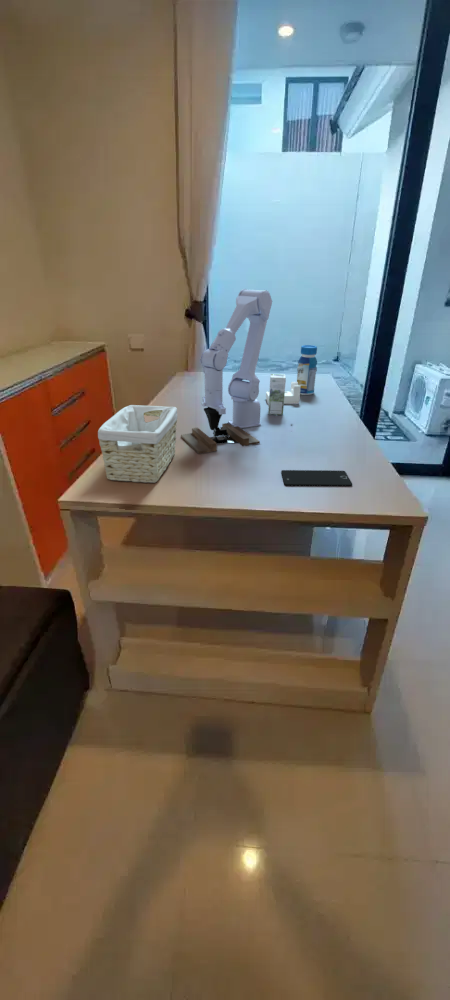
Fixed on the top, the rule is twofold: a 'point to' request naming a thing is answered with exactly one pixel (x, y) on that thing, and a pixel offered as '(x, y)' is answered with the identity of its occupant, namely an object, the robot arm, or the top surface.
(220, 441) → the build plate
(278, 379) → the syrup box
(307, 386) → the beverage bottle
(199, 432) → the wooden stepped rails
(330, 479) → the cell phone
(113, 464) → the storage basket
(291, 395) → the bracket
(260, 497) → the top surface
